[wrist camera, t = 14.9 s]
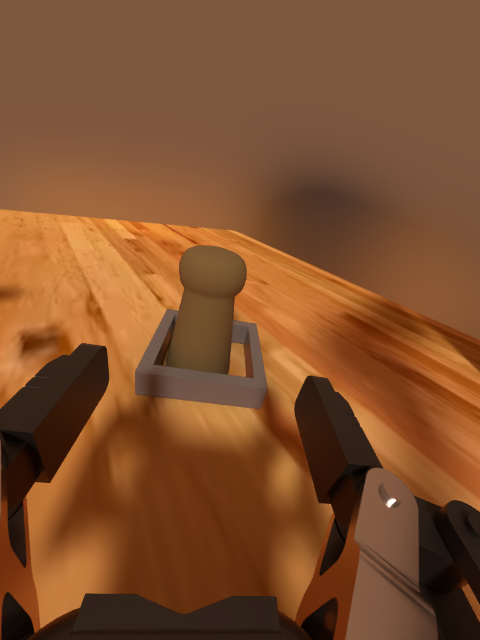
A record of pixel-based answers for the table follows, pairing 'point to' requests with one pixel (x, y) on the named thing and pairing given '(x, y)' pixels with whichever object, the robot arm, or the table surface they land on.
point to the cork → (206, 309)
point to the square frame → (199, 383)
